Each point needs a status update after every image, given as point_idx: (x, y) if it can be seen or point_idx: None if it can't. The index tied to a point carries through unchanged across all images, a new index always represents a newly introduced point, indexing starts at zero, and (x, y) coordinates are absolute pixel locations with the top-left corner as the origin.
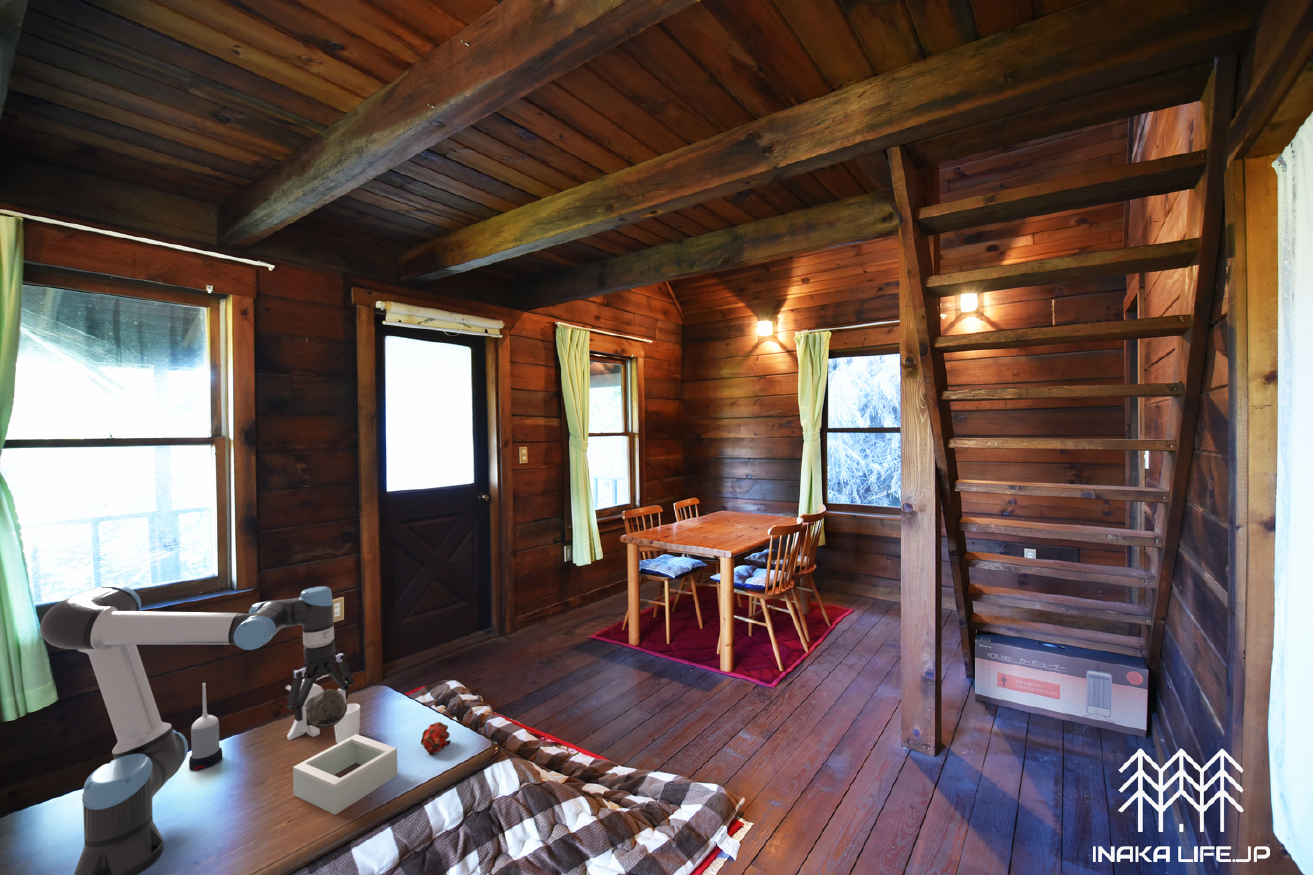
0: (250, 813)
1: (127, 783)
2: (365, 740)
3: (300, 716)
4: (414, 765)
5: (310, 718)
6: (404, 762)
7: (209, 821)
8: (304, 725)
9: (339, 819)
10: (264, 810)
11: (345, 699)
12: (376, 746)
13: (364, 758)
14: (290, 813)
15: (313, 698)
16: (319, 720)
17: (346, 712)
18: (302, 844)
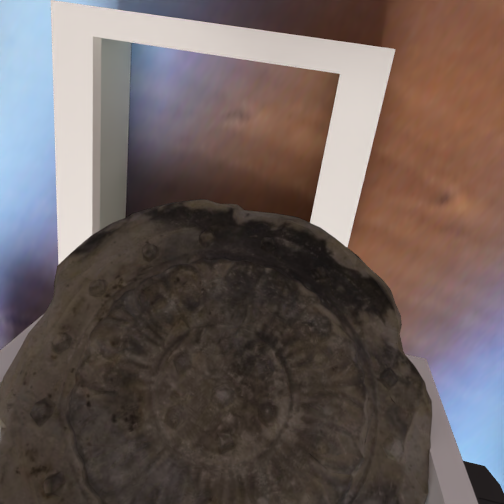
0: (429, 352)
1: None
2: (74, 220)
3: (479, 499)
4: (45, 4)
5: (411, 401)
6: (50, 66)
7: (482, 429)
8: (436, 396)
9: (400, 13)
10: (408, 325)
11: (9, 345)
12: (84, 127)
13: (113, 208)
14: (405, 231)
15: None
16: (353, 321)
17: None
18: None
